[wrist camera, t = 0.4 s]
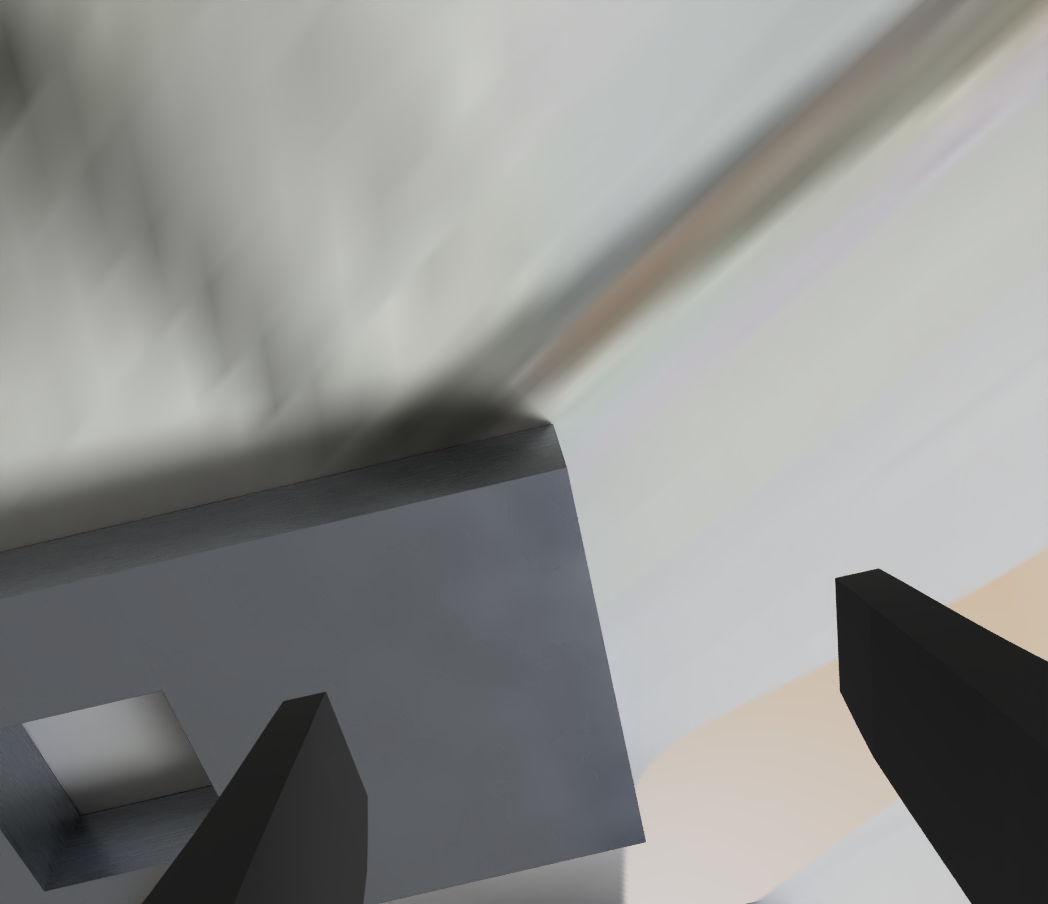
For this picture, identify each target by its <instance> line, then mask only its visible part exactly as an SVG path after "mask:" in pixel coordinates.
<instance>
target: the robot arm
mask: <svg viewBox="0 0 1048 904" xmlns="http://www.w3.org/2000/svg"><path fill="white" fill-rule="evenodd" d="M835 584H836V608H837V631H838V655H839V676H840V692H841V694H842V696H843V698H844V700H845V702H846V704H847V706H848V708H849V710H850V712H851V714H852V716H853V718H854V720H855V722H856V725H857V726H858V728H859V730H860V732H861V734H862V736H863V738H864V740H865V742H866V744H867V745H868V748H869V749H870V751H871V753H872V755H873V757H874V758H875V760H876V762H877V763H878V765H879V766H880V768H881V769H882V771H883V772H884V774H885V775H886V777H887V778H888V780H889V782H890V783H891V785H892V786H893V787H894V789H895V790H896V792H897V794H898V795H899V797H900V798H901V800H902V801H903V803H904V804H905V806H906V807H907V809H908V810H909V812H910V813H911V815H912V816H913V818H914V819H915V821H916V822H917V823H918V825H919V826H920V828H921V829H922V831H923V832H924V834H925V835H926V837H927V838H928V840H929V841H930V843H931V844H932V846H933V847H934V849H935V850H936V852H937V853H938V855H939V856H940V858H941V859H942V861H943V862H944V864H945V865H946V866H947V868H948V869H949V871H950V872H951V874H952V875H953V877H954V878H955V880H956V881H957V883H958V884H959V886H960V887H961V889H962V890H963V892H964V893H965V895H966V896H967V898H968V899H969V901H970V902H971V904H1048V662H1047V661H1046V660H1044V659H1042V658H1040V657H1038V656H1035V655H1034V654H1032V653H1030V652H1028V651H1026V650H1024V649H1022V648H1020V647H1019V646H1017V645H1015V644H1013V643H1011V642H1009V641H1007V640H1005V639H1004V638H1002V637H1000V636H998V635H996V634H994V633H992V632H990V631H989V630H987V629H985V628H983V627H982V626H980V625H978V624H976V623H974V622H972V621H971V620H969V619H967V618H965V617H964V616H962V615H960V614H958V613H957V612H955V611H953V610H951V609H950V608H948V607H946V606H944V605H942V604H941V603H939V602H937V601H935V600H934V599H932V598H930V597H928V596H927V595H925V594H923V593H922V592H920V591H918V590H916V589H915V588H913V587H911V586H909V585H908V584H906V583H904V582H902V581H900V580H899V579H897V578H895V577H893V576H891V575H890V574H888V573H886V572H884V571H882V570H880V569H874V570H870V571H865V572H861V573H856V574H852V575H848V576H843V577H839V578H835ZM367 859H368V795H367V793H366V790H365V788H364V785H363V783H362V780H361V778H360V775H359V773H358V770H357V768H356V765H355V763H354V760H353V758H352V755H351V753H350V750H349V748H348V745H347V743H346V740H345V738H344V735H343V733H342V730H341V728H340V725H339V723H338V720H337V718H336V715H335V713H334V710H333V707H332V705H331V702H330V700H329V697H328V695H327V692H322V693H317V694H313V695H308V696H304V697H299V698H295V699H290V700H286V701H283V702H282V704H281V705H280V707H279V708H278V710H277V711H276V713H275V714H274V716H273V717H272V718H271V720H270V721H269V723H268V724H267V726H266V727H265V729H264V730H263V732H262V733H261V735H260V736H259V738H258V739H257V741H256V742H255V744H254V746H253V747H252V749H251V750H250V752H249V753H248V755H247V756H246V758H245V759H244V761H243V762H242V764H241V765H240V767H239V768H238V770H237V771H236V773H235V774H234V776H233V777H232V779H231V780H230V782H229V783H228V785H227V786H226V788H225V789H224V791H223V792H222V794H221V795H220V797H219V798H218V800H217V801H216V802H215V804H214V805H213V807H212V808H211V810H210V811H209V813H208V814H207V816H206V817H205V818H204V820H203V821H202V823H201V824H200V826H199V827H198V829H197V830H196V832H195V833H194V834H193V836H192V837H191V839H190V840H189V841H188V843H187V844H186V845H185V847H184V848H183V849H182V851H181V852H180V853H179V855H178V856H177V857H176V859H175V860H174V861H173V863H172V864H171V865H170V867H169V868H168V869H167V871H166V872H165V873H164V875H163V876H162V877H161V879H160V880H159V881H158V883H157V884H156V885H155V887H154V888H153V889H152V891H151V892H150V893H149V895H148V896H147V897H146V899H145V900H144V901H143V903H142V904H363V902H364V894H365V886H366V877H367ZM756 902H757V901H756ZM756 902H752V903H747V904H755V903H756Z"/></svg>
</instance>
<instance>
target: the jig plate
mask: <svg viewBox="0 0 1048 904" xmlns="http://www.w3.org/2000/svg"><path fill="white" fill-rule="evenodd" d="M159 691H163V692H164V694H165V696H166V698H167V700H168V702H169V704H170V705H171V707H172V709H173V711H174V713H175V715H176V717H177V719H178V721H179V722H180V724H181V726H182V728H183V730H184V732H185V734H186V736H187V738H188V740H189V741H190V743H191V745H192V747H193V749H194V751H195V753H196V755H197V757H198V758H199V760H200V762H201V764H202V766H203V768H204V770H205V772H206V774H207V775H208V777H209V779H210V781H211V783H212V785H213V786H209V787H205V788H201V789H196V790H192V791H188V792H183V793H179V794H175V795H170V796H166V797H162V798H157V799H153V800H149V801H144V802H140V803H136V804H131V805H127V806H123V807H118V808H114V809H110V810H105V811H101V812H97V813H92V814H88V815H84V816H80V815H79V813H78V812H77V810H76V809H75V807H74V805H73V804H72V802H71V801H70V799H69V798H68V796H67V795H66V793H65V791H64V790H63V788H62V787H61V785H60V784H59V782H58V781H57V779H56V777H55V776H54V774H53V773H52V771H51V770H50V768H49V767H48V765H47V763H46V762H45V760H44V759H43V757H42V756H41V754H40V753H39V751H38V749H37V748H36V746H35V745H34V743H33V742H32V740H31V739H30V737H29V735H28V734H27V732H26V731H25V729H24V728H23V726H22V725H21V723H25V722H29V721H33V720H38V719H42V718H46V717H51V716H55V715H59V714H63V713H68V712H72V711H76V710H81V709H85V708H89V707H94V706H98V705H102V704H107V703H111V702H115V701H120V700H124V699H128V698H133V697H137V696H141V695H146V694H150V693H154V692H159ZM322 692H327V695H328V697H329V700H330V702H331V705H332V707H333V710H334V713H335V715H336V718H337V720H338V723H339V725H340V728H341V730H342V733H343V735H344V738H345V740H346V743H347V745H348V748H349V750H350V753H351V755H352V758H353V760H354V763H355V765H356V768H357V770H358V773H359V775H360V778H361V780H362V783H363V785H364V788H365V790H366V793H367V795H368V859H367V877H366V886H365V894H364V902H363V904H378V903H383V902H387V901H392V900H396V899H400V898H405V897H409V896H413V895H418V894H422V893H426V892H431V891H435V890H439V889H444V888H448V887H452V886H457V885H461V884H466V883H470V882H474V881H479V880H483V879H487V878H492V877H496V876H500V875H505V874H509V873H513V872H518V871H522V870H526V869H531V868H535V867H540V866H544V865H548V864H553V863H557V862H561V861H566V860H570V859H574V858H579V857H583V856H587V855H592V854H596V853H600V852H605V851H609V850H614V849H618V848H622V847H627V846H631V845H635V844H640V843H644V842H646V840H645V836H644V831H643V826H642V822H641V817H640V812H639V808H638V802H637V798H636V793H635V788H634V783H633V779H632V774H631V769H630V764H629V760H628V755H627V750H626V746H625V741H624V736H623V731H622V727H621V722H620V717H619V712H618V708H617V703H616V698H615V693H614V689H613V684H612V679H611V675H610V670H609V665H608V660H607V656H606V651H605V646H604V641H603V637H602V632H601V627H600V622H599V618H598V613H597V608H596V603H595V599H594V594H593V589H592V585H591V580H590V575H589V570H588V566H587V561H586V556H585V551H584V547H583V542H582V537H581V532H580V528H579V523H578V518H577V514H576V509H575V504H574V499H573V495H572V490H571V485H570V480H569V476H568V471H567V467H566V464H565V460H564V457H563V454H562V451H561V448H560V445H559V442H558V439H557V435H556V432H555V429H554V426H553V424H551V425H546V426H542V427H538V428H533V429H529V430H525V431H521V432H516V433H512V434H508V435H503V436H499V437H495V438H490V439H486V440H482V441H478V442H473V443H469V444H465V445H460V446H456V447H452V448H447V449H443V450H439V451H435V452H430V453H426V454H422V455H417V456H413V457H409V458H404V459H400V460H396V461H392V462H387V463H383V464H379V465H374V466H370V467H366V468H361V469H357V470H353V471H349V472H344V473H340V474H336V475H331V476H327V477H323V478H318V479H314V480H310V481H306V482H301V483H297V484H293V485H288V486H284V487H280V488H275V489H271V490H267V491H263V492H258V493H254V494H250V495H245V496H241V497H237V498H232V499H228V500H224V501H220V502H215V503H211V504H207V505H202V506H198V507H194V508H189V509H185V510H181V511H177V512H172V513H168V514H164V515H159V516H155V517H151V518H146V519H142V520H138V521H134V522H129V523H125V524H121V525H116V526H112V527H108V528H103V529H99V530H95V531H91V532H86V533H82V534H78V535H73V536H69V537H65V538H60V539H56V540H52V541H48V542H43V543H39V544H35V545H30V546H26V547H22V548H17V549H13V550H9V551H5V552H0V904H142V903H143V901H144V900H145V899H146V897H147V896H148V895H149V893H150V892H151V891H152V889H153V888H154V887H155V885H156V884H157V883H158V881H159V880H160V879H161V877H162V876H163V875H164V873H165V872H166V871H167V869H168V868H169V867H170V865H171V864H172V863H173V861H174V860H175V859H176V857H177V856H178V855H179V853H180V852H181V851H182V849H183V848H184V847H185V845H186V844H187V843H188V841H189V840H190V839H191V837H192V836H193V834H194V833H195V832H196V830H197V829H198V827H199V826H200V824H201V823H202V821H203V820H204V818H205V817H206V816H207V814H208V813H209V811H210V810H211V808H212V807H213V805H214V804H215V802H216V801H217V800H218V798H219V797H220V795H221V794H222V792H223V791H224V789H225V788H226V786H227V785H228V783H229V782H230V780H231V779H232V777H233V776H234V774H235V773H236V771H237V770H238V768H239V767H240V765H241V764H242V762H243V761H244V759H245V758H246V756H247V755H248V753H249V752H250V750H251V749H252V747H253V746H254V744H255V742H256V741H257V739H258V738H259V736H260V735H261V733H262V732H263V730H264V729H265V727H266V726H267V724H268V723H269V721H270V720H271V718H272V717H273V716H274V714H275V713H276V711H277V710H278V708H279V707H280V705H281V704H282V702H283V701H286V700H290V699H295V698H299V697H304V696H308V695H313V694H317V693H322Z"/></svg>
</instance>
